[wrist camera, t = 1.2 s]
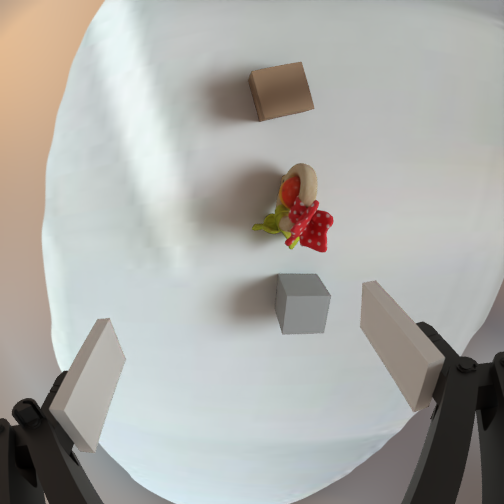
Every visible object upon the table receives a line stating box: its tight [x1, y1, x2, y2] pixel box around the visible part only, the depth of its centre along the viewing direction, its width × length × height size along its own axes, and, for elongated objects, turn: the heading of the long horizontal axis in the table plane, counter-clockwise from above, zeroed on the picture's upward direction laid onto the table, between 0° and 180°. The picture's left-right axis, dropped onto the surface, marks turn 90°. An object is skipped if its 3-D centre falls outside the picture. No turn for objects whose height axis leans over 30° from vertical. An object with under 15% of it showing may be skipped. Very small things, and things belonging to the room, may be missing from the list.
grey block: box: [275, 274, 331, 334], centre depth 38 cm, size 5×5×6 cm
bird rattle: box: [252, 163, 333, 252], centre depth 32 cm, size 6×11×9 cm
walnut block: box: [248, 62, 314, 122], centre depth 30 cm, size 5×5×5 cm
